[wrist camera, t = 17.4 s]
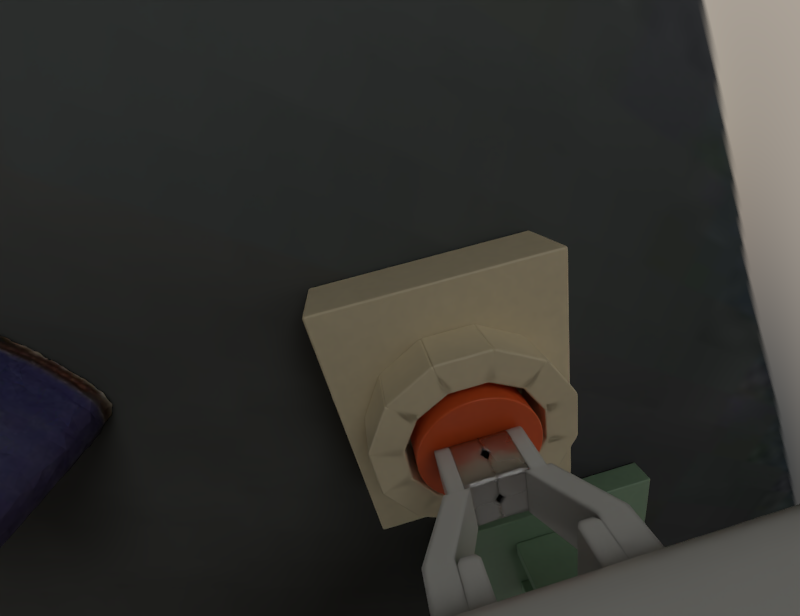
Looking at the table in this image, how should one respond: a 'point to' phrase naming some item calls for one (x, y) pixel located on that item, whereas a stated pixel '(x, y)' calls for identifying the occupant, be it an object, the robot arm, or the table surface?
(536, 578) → the switch bracket
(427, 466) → the button
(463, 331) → the button housing
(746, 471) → the table surface
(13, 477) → the flask
